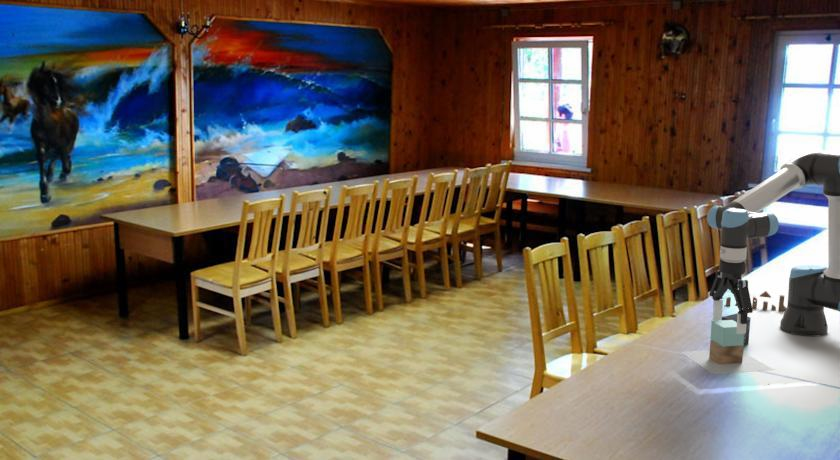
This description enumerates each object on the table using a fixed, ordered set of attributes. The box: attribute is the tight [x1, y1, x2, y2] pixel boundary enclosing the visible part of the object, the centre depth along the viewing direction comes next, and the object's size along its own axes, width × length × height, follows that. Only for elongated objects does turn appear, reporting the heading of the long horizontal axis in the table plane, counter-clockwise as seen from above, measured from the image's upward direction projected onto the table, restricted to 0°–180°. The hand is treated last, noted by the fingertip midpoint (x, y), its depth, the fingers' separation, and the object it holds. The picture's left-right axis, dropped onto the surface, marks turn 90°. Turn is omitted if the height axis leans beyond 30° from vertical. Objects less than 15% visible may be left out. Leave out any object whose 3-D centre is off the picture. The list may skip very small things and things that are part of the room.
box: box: [722, 313, 751, 346], centre depth 268 cm, size 8×6×11 cm
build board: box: [680, 349, 775, 375], centre depth 253 cm, size 20×20×1 cm
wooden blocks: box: [725, 290, 787, 312], centre depth 312 cm, size 30×3×8 cm, turn 67°
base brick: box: [709, 339, 745, 364], centre depth 252 cm, size 8×6×6 cm
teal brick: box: [709, 320, 744, 347], centre depth 251 cm, size 7×7×6 cm
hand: (728, 326), depth 251 cm, fingers open, 13 cm apart
